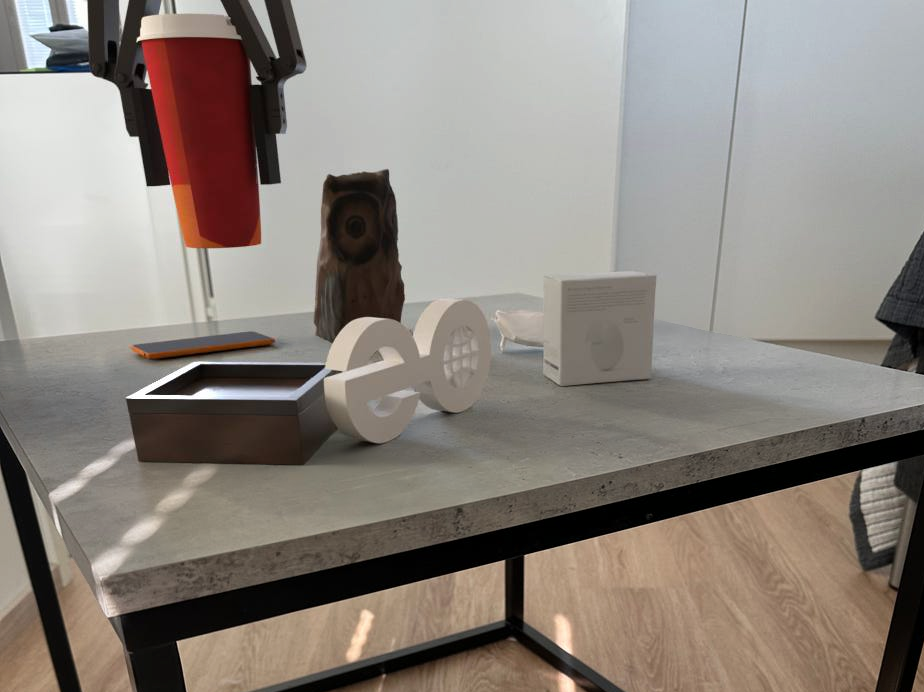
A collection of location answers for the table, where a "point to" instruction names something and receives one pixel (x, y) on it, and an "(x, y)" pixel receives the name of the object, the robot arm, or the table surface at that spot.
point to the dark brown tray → (233, 414)
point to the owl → (357, 253)
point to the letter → (407, 368)
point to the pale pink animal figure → (520, 327)
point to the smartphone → (201, 344)
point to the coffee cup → (205, 126)
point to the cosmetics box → (598, 327)
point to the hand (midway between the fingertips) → (214, 184)
